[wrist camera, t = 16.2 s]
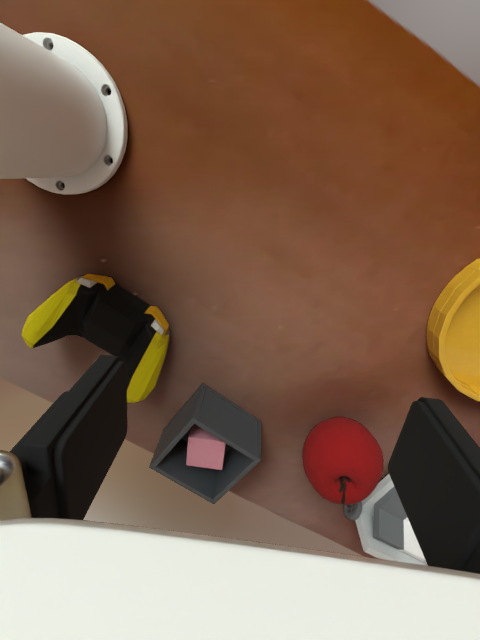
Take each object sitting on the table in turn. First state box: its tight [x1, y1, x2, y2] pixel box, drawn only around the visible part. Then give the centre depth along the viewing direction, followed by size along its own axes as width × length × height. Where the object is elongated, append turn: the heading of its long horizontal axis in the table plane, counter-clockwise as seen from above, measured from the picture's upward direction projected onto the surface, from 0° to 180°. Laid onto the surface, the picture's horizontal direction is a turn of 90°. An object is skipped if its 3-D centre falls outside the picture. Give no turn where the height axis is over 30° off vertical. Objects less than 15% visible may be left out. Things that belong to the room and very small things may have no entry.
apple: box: [302, 417, 383, 505], centre depth 39 cm, size 9×9×10 cm
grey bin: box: [149, 383, 261, 504], centre depth 42 cm, size 9×9×6 cm
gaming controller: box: [22, 274, 170, 403], centre depth 37 cm, size 15×6×10 cm
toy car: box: [344, 474, 427, 566], centre depth 42 cm, size 18×10×12 cm
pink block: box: [186, 424, 226, 470], centre depth 42 cm, size 4×4×4 cm
